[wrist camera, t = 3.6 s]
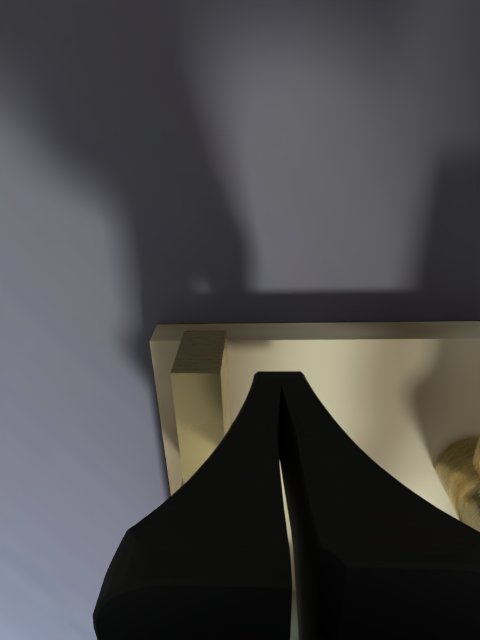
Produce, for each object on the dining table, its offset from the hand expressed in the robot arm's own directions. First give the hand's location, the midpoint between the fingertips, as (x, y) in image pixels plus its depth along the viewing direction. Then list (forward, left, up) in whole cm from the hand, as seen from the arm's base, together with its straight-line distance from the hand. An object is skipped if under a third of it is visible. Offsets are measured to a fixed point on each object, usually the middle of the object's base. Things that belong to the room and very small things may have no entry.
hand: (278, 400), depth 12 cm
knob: (+2, +2, -2) cm, 3 cm away
